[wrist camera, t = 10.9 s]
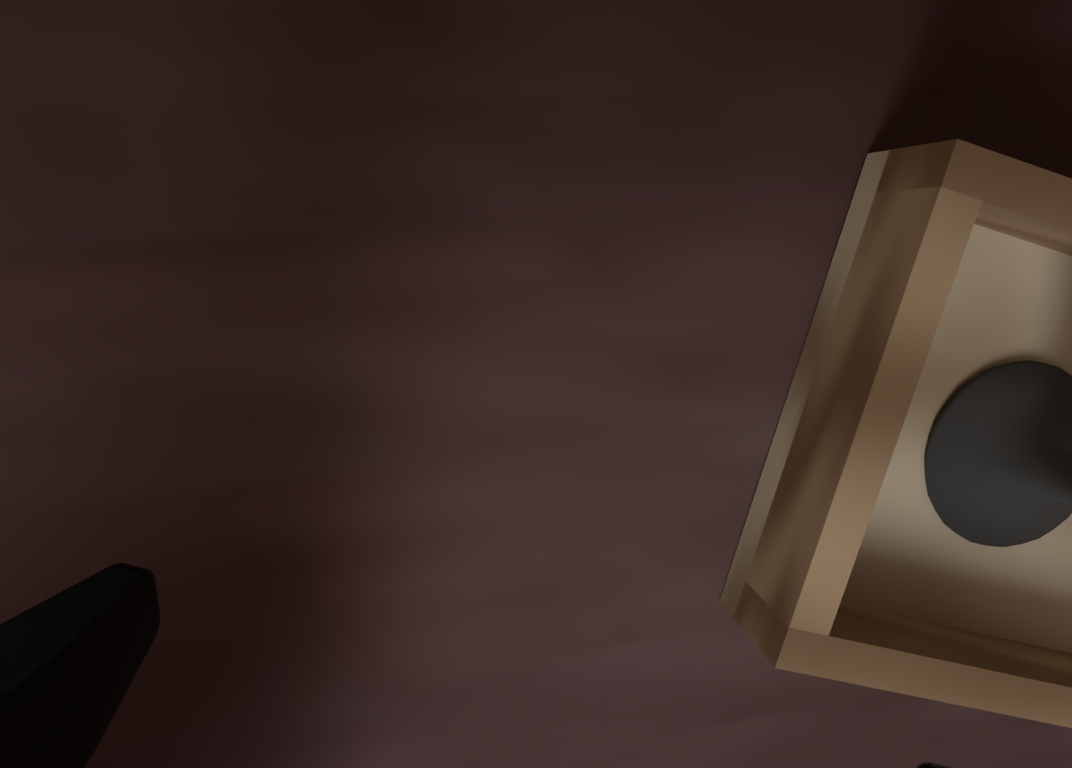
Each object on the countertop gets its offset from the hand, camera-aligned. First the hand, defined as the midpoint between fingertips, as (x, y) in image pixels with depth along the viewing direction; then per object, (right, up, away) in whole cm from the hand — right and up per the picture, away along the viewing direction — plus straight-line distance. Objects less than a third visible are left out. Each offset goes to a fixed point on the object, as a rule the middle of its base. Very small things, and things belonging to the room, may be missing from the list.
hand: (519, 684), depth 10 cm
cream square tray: (+12, +2, +13) cm, 18 cm away
